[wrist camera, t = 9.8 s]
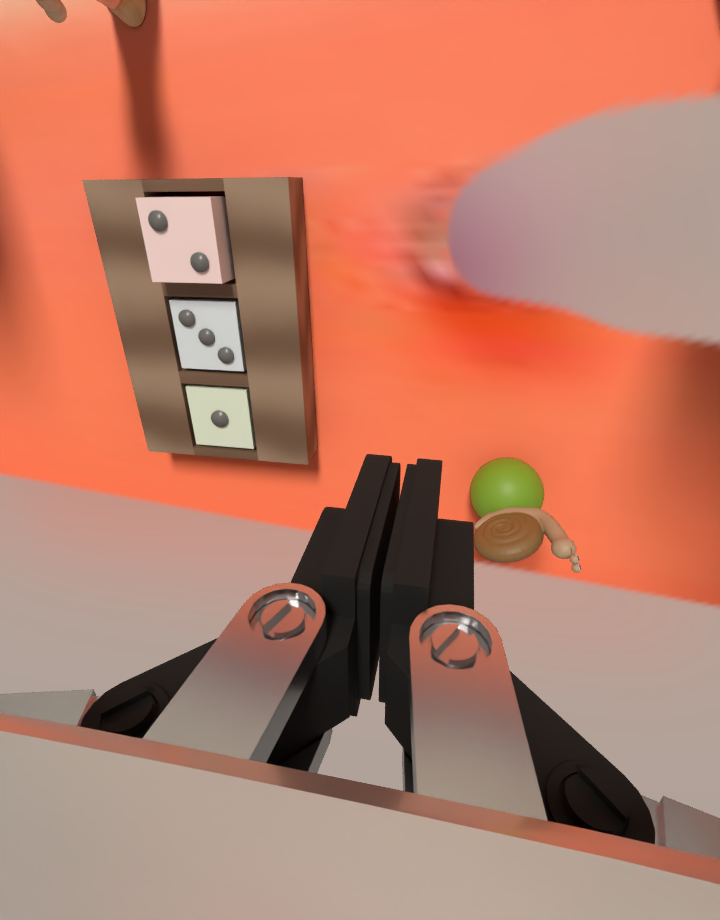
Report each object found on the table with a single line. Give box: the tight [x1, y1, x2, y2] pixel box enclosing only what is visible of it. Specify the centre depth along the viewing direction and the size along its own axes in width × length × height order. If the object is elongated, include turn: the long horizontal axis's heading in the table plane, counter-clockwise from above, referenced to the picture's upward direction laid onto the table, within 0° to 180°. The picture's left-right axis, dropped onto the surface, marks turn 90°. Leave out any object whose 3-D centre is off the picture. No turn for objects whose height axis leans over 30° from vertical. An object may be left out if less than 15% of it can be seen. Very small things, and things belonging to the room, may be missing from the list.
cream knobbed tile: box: [186, 384, 256, 449], centre depth 40 cm, size 5×5×3 cm
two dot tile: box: [135, 196, 235, 284], centre depth 33 cm, size 5×5×3 cm
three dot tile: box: [169, 297, 247, 371], centre depth 37 cm, size 5×5×3 cm
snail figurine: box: [470, 458, 581, 572], centre depth 35 cm, size 5×6×12 cm
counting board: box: [83, 177, 318, 465], centre depth 37 cm, size 20×14×3 cm
